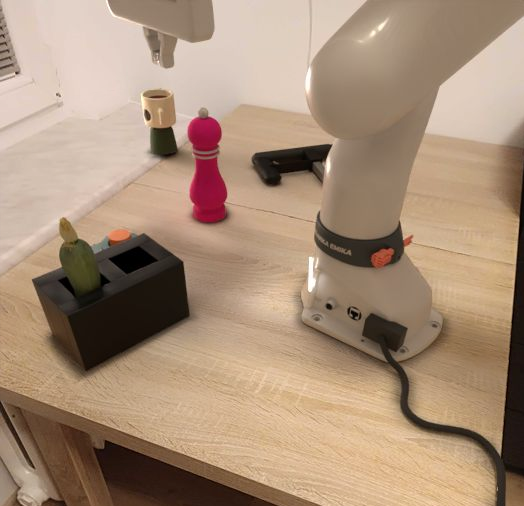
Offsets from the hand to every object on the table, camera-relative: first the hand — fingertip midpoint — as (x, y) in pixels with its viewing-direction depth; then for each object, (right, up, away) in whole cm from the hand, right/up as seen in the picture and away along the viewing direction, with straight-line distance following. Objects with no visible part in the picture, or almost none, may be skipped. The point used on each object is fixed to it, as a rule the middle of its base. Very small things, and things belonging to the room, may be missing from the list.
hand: (163, 65), depth 70 cm
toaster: (-7, -36, +4) cm, 37 cm away
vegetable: (-10, -38, +3) cm, 40 cm away
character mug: (-9, +7, +48) cm, 50 cm away
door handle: (+23, 0, +42) cm, 48 cm away
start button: (-10, -22, +14) cm, 28 cm away
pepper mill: (+4, -14, +28) cm, 31 cm away
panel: (-10, -25, +16) cm, 31 cm away
